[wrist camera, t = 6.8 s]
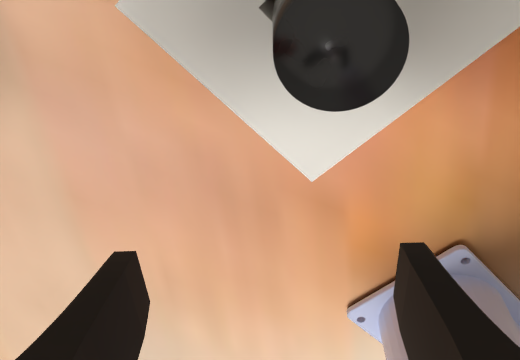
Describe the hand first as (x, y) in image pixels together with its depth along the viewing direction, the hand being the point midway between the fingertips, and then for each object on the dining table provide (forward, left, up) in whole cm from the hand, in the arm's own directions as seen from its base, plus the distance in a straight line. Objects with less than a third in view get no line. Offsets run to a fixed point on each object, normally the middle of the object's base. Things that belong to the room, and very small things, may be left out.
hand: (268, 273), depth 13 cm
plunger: (+2, -5, -10) cm, 11 cm away
